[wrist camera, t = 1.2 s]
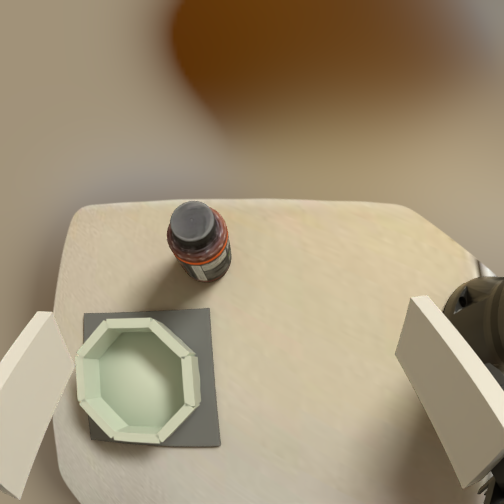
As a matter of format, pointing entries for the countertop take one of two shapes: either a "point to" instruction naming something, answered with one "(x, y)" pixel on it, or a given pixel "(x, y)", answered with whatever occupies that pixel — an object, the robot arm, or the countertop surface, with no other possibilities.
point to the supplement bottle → (200, 241)
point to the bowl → (137, 379)
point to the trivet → (199, 341)
